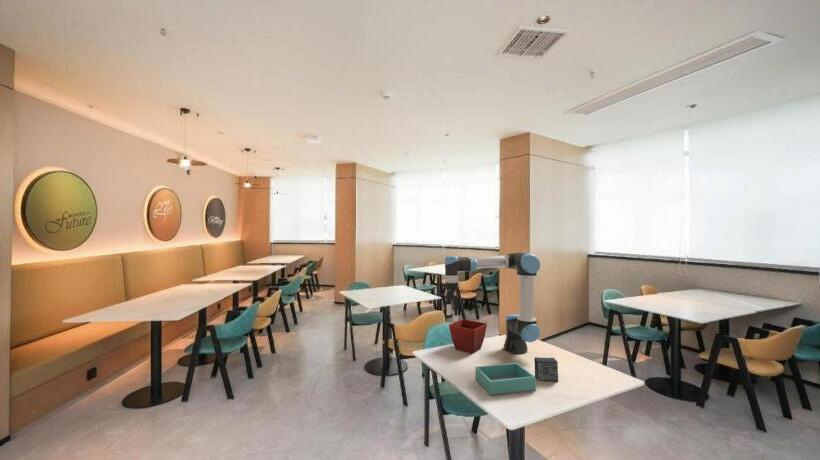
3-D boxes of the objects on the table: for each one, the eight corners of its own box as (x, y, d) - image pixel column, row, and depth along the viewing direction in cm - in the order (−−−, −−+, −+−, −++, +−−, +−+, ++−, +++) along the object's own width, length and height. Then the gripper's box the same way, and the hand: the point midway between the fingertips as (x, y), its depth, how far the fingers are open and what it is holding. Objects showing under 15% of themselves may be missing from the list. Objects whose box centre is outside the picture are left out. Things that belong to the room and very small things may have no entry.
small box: (554, 376, 179) (554, 357, 179) (558, 382, 172) (558, 361, 172) (534, 375, 180) (534, 356, 180) (537, 381, 173) (537, 361, 173)
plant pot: (463, 342, 235) (462, 318, 235) (487, 348, 223) (487, 323, 223) (448, 350, 220) (448, 324, 220) (474, 356, 208) (473, 330, 208)
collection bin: (517, 375, 180) (516, 362, 180) (535, 391, 163) (535, 376, 163) (475, 380, 176) (475, 366, 176) (490, 396, 158) (490, 381, 158)
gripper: (440, 279, 208) (440, 313, 208) (451, 285, 183) (452, 323, 183) (451, 278, 209) (452, 312, 209) (464, 285, 185) (465, 323, 185)
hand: (452, 317), depth 196 cm, fingers open, 13 cm apart
